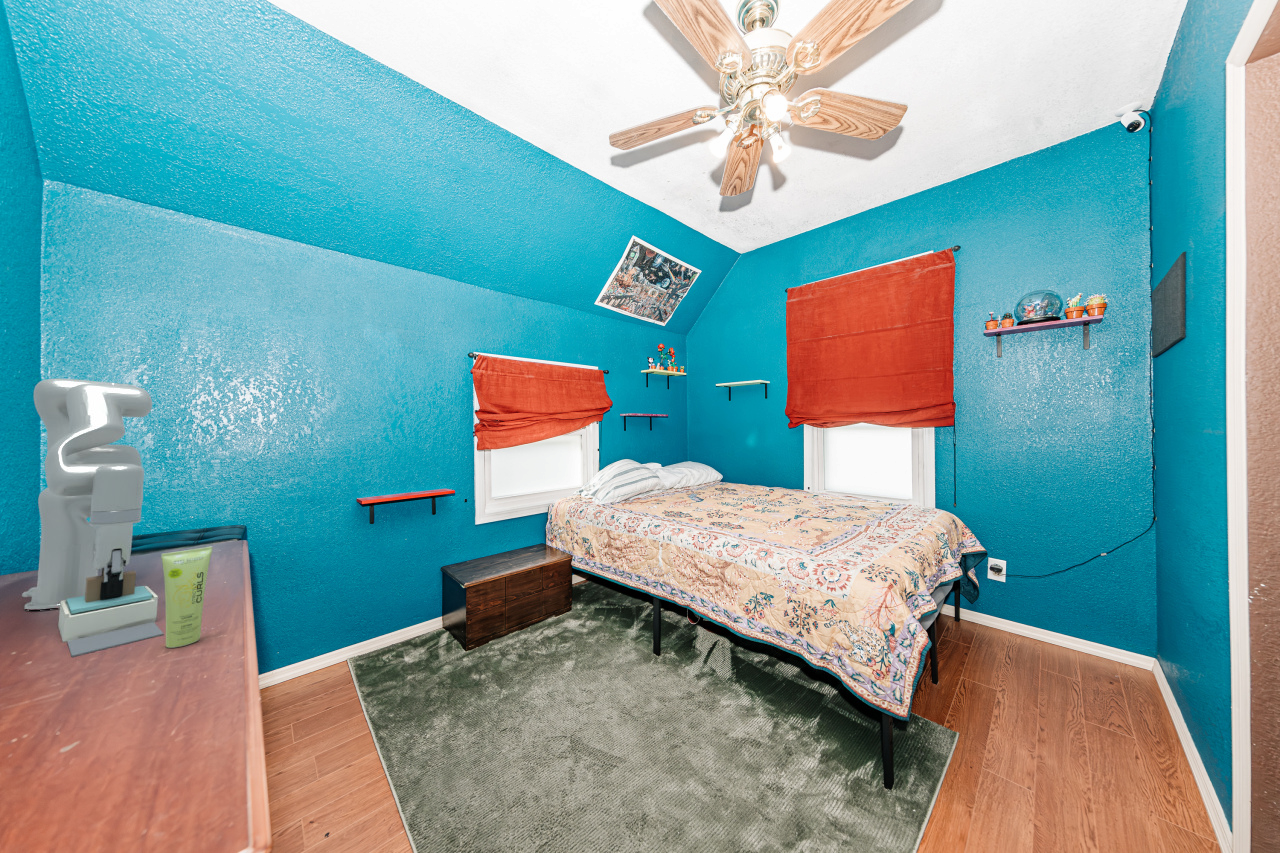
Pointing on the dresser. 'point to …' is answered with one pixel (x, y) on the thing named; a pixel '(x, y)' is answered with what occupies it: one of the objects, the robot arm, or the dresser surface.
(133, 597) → the lid
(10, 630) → the dresser surface
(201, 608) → the tube
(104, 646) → the mat
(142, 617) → the box
